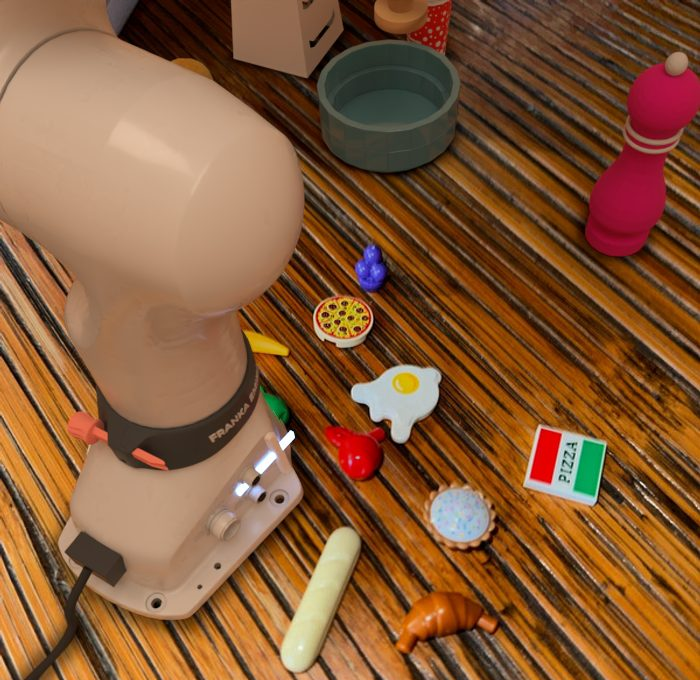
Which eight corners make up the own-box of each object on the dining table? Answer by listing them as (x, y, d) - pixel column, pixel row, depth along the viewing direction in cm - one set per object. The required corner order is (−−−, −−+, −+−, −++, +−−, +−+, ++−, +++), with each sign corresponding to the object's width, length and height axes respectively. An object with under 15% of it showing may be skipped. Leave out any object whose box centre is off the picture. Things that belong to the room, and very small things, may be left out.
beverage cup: (398, 45, 96) (399, -77, 84) (446, 40, 96) (454, -83, 84) (405, 75, 93) (408, -46, 81) (454, 70, 93) (465, -52, 81)
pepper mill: (649, 265, 78) (727, 86, 60) (577, 256, 78) (633, 78, 61) (651, 214, 81) (725, 30, 63) (581, 206, 82) (635, 23, 64)
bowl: (418, 194, 84) (420, 148, 78) (297, 151, 88) (291, 105, 82) (477, 109, 90) (483, 62, 85) (361, 73, 94) (359, 26, 89)
